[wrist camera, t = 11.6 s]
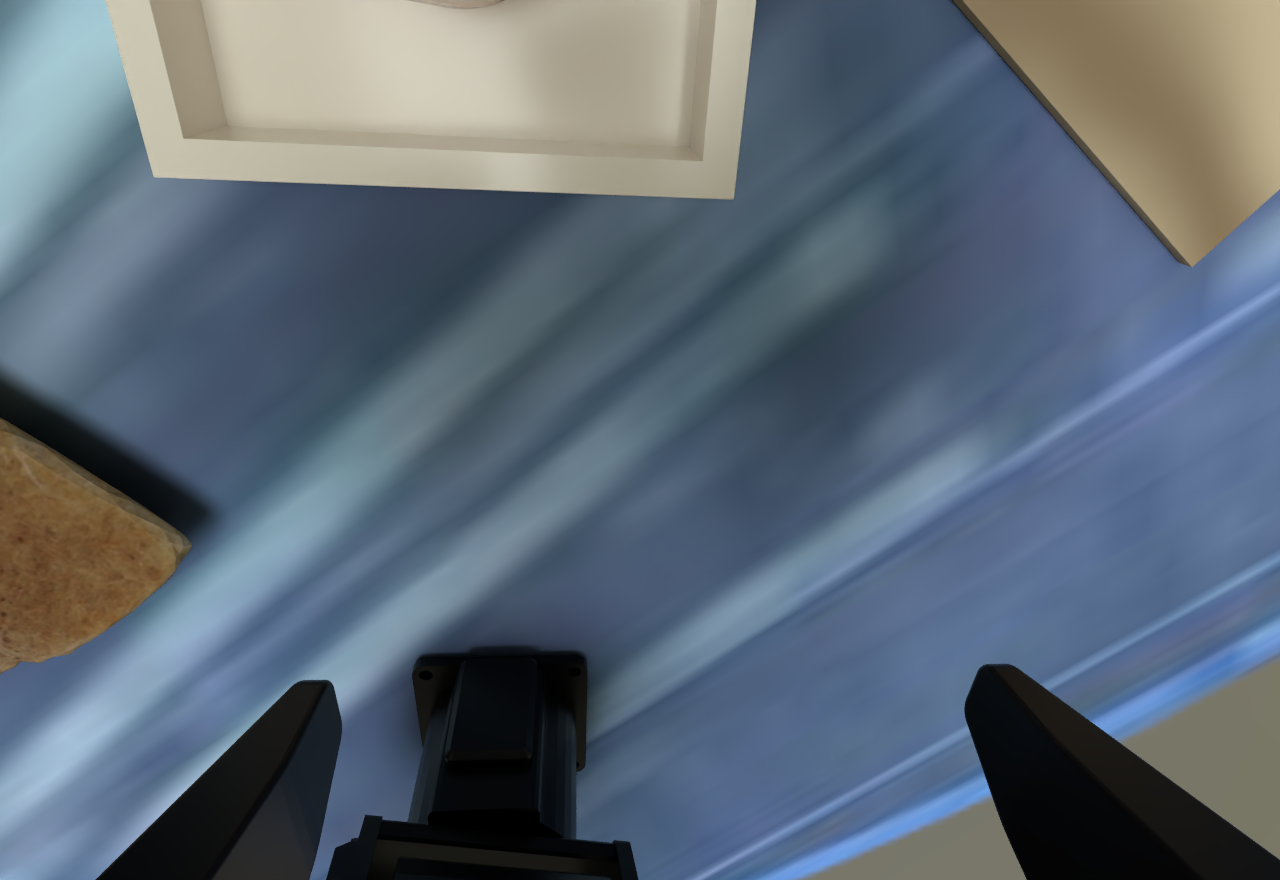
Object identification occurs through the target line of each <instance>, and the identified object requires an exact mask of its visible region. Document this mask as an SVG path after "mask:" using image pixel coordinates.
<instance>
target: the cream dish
mask: <svg viewBox="0 0 1280 880" xmlns="http://www.w3.org/2000/svg"><path fill="white" fill-rule="evenodd" d="M106 4H107V7H108V11H109V15H110V18H111V22H112V26H113V29H114V33H115V37H116V40H117V44H118V48H119V51H120V55H121V59H122V62H123V66H124V70H125V73H126V77H127V81H128V84H129V88H130V92H131V95H132V99H133V103H134V106H135V110H136V114H137V117H138V121H139V125H140V128H141V132H142V136H143V139H144V143H145V147H146V150H147V154H148V158H149V161H150V165H151V169H152V172H153V176H154V177H162V178H188V179H214V180H240V181H266V182H292V183H318V184H344V185H369V186H395V187H421V188H447V189H473V190H499V191H525V192H551V193H577V194H603V195H629V196H655V197H681V198H707V199H733V200H734V193H735V184H736V175H737V166H738V157H739V149H740V140H741V131H742V122H743V113H744V104H745V96H746V87H747V78H748V69H749V60H750V51H751V43H752V34H753V25H754V16H755V7H756V0H504V1H502V2H500V3H497V4H493V5H490V6H487V7H481V8H474V9H452V8H446V7H440V6H435V5H429V4H424V3H419V2H413V1H408V0H106Z"/></svg>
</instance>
